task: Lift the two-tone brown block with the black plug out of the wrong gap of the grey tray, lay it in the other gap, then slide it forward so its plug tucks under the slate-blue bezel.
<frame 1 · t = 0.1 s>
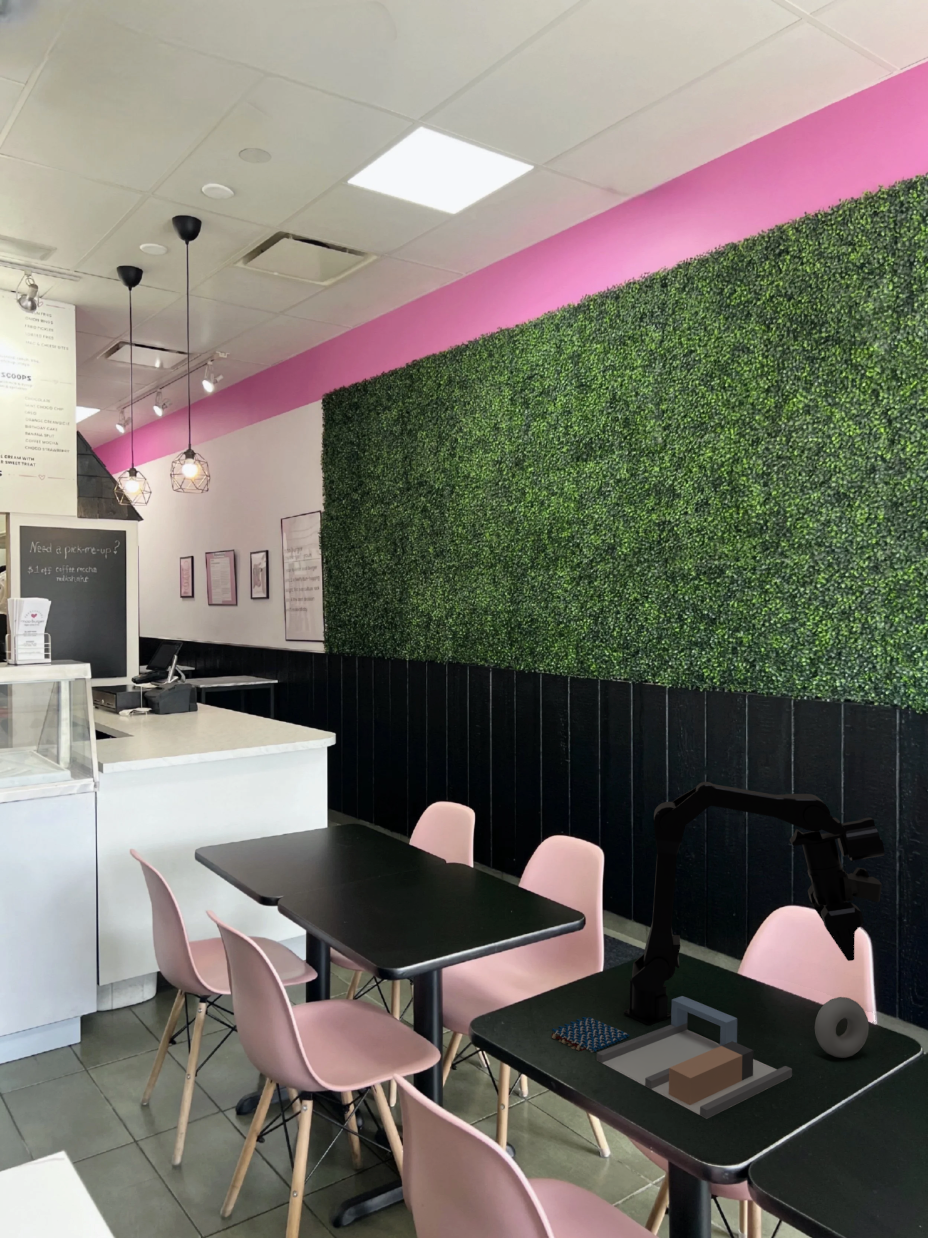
hand: (845, 951, 160), 15 cm above the table, tool pointing down, fingers open, 9 cm apart
grey tray: (692, 1073, 146), on the table
two-tone brown block: (711, 1084, 140), point 1 cm above the table, touching grey tray
donut: (841, 1058, 153), on the table
woven mat: (591, 1044, 157), on the table
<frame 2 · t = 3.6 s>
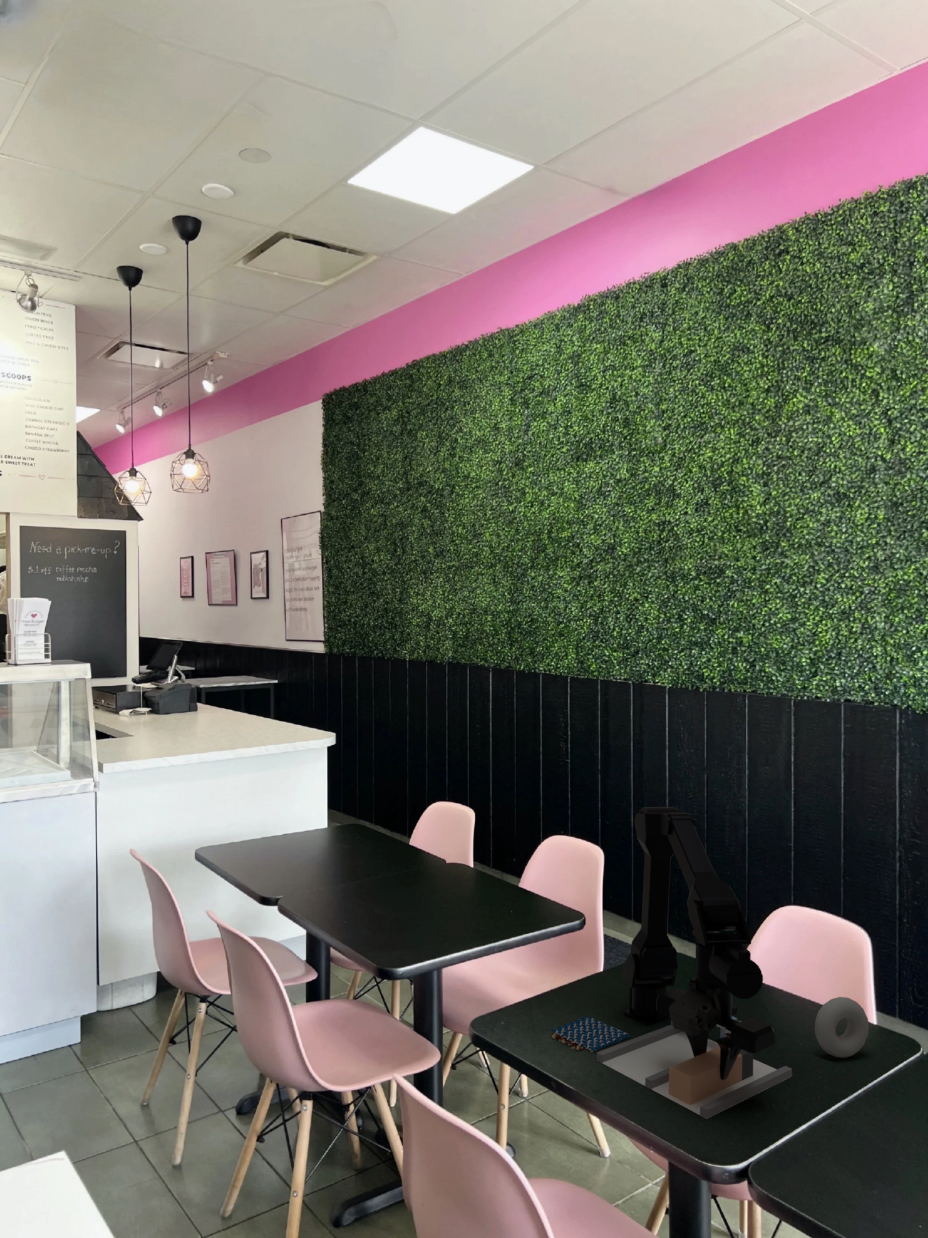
hand: (712, 1073, 140), 3 cm above the table, tool pointing down, fingers closed on two-tone brown block, 4 cm apart
two-tone brown block: (711, 1084, 140), point 1 cm above the table, touching grey tray, gripper
everything else where it was.
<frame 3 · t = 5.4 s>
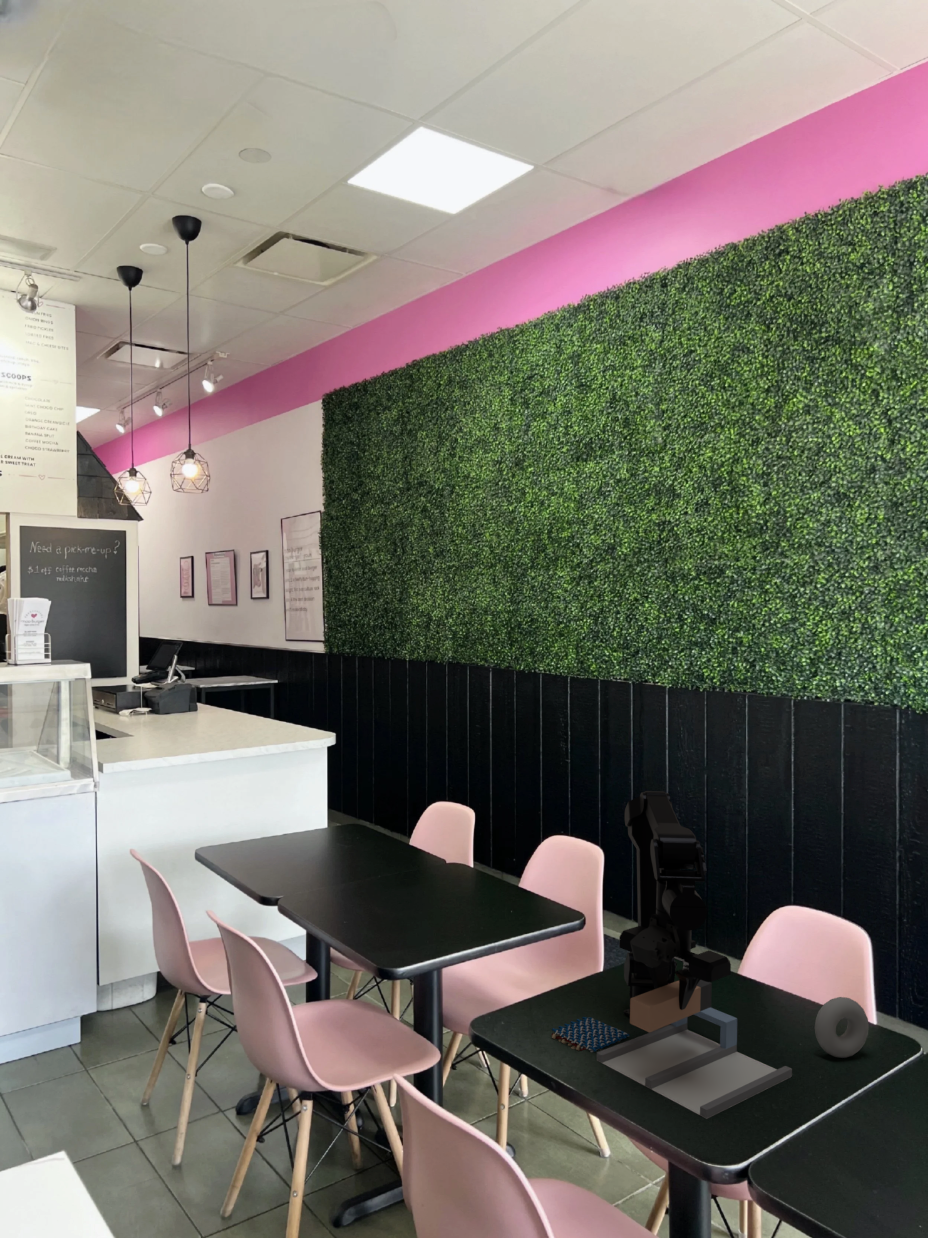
hand: (671, 1004, 147), 11 cm above the table, tool pointing down, fingers closed on two-tone brown block, 4 cm apart
two-tone brown block: (671, 1015, 147), point 9 cm above the table, touching gripper
everything else where it was.
when the fingers open (3 cm above the table, at t = 7.3 s): two-tone brown block stays where it is, resting on grey tray.
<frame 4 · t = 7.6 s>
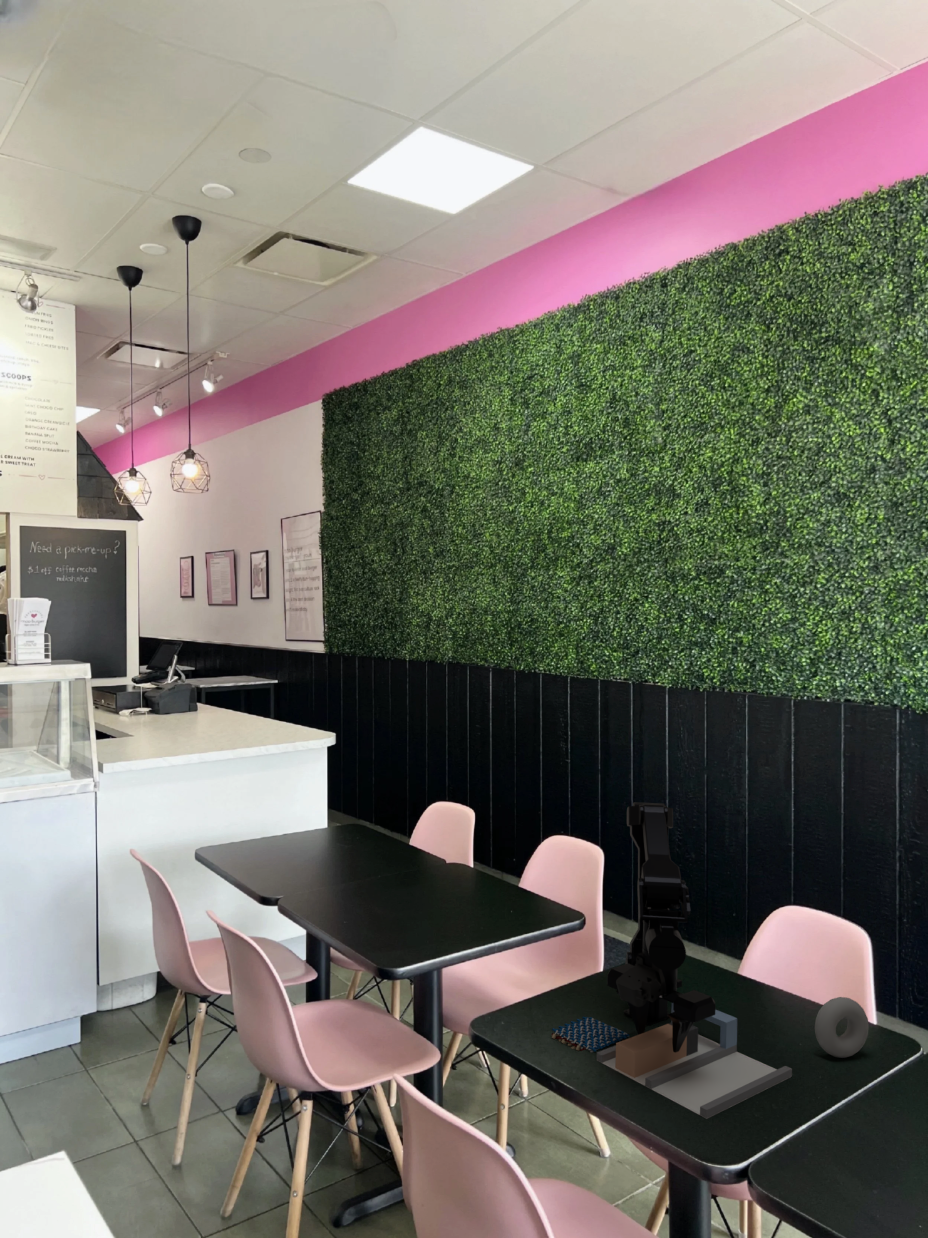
hand: (658, 1043, 148), 3 cm above the table, tool pointing down, fingers open, 7 cm apart
two-tone brown block: (657, 1059, 148), point 1 cm above the table, touching grey tray
everything else where it was.
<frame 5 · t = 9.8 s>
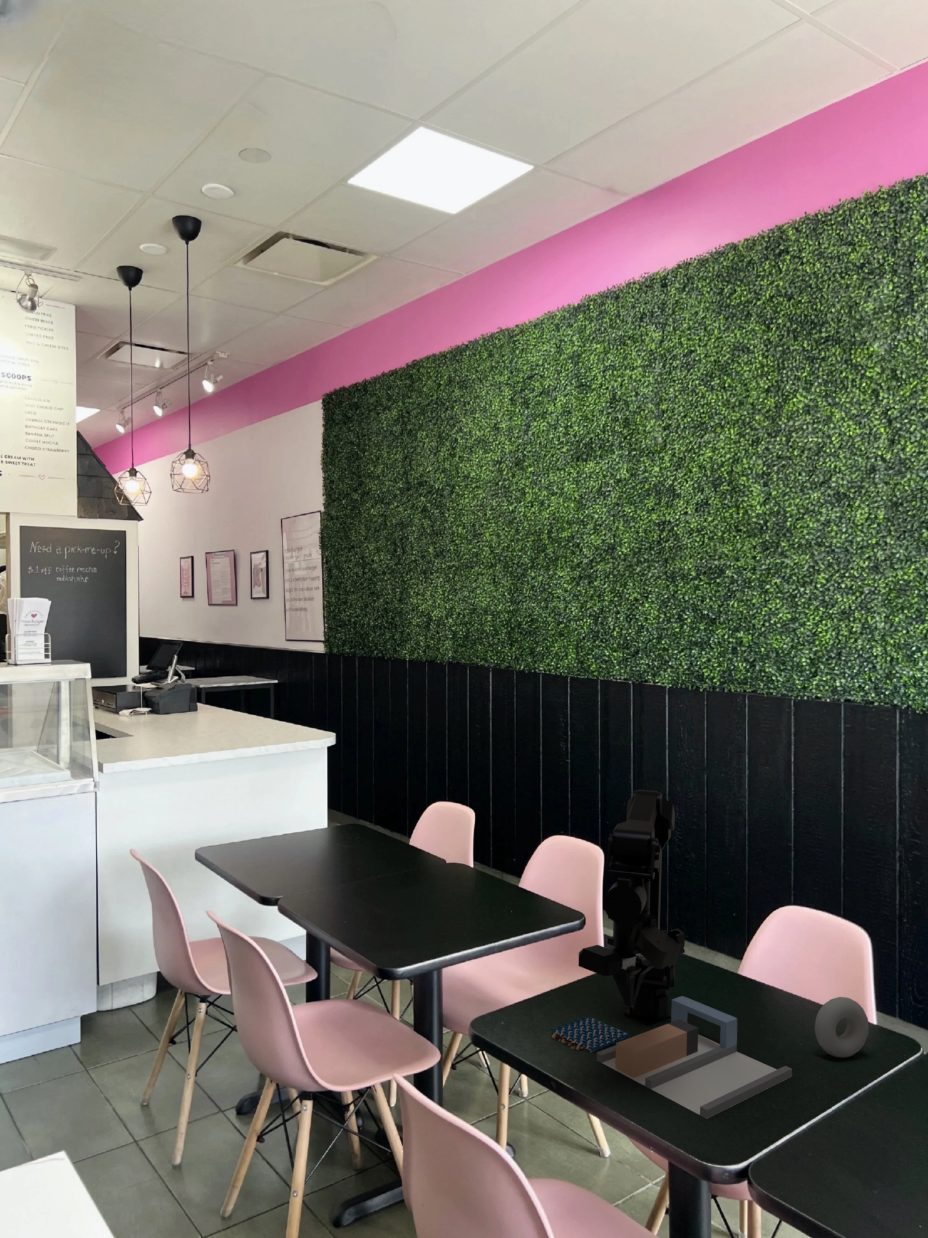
hand: (629, 1006, 143), 12 cm above the table, tool pointing down, fingers closed
nothing on the table moved.
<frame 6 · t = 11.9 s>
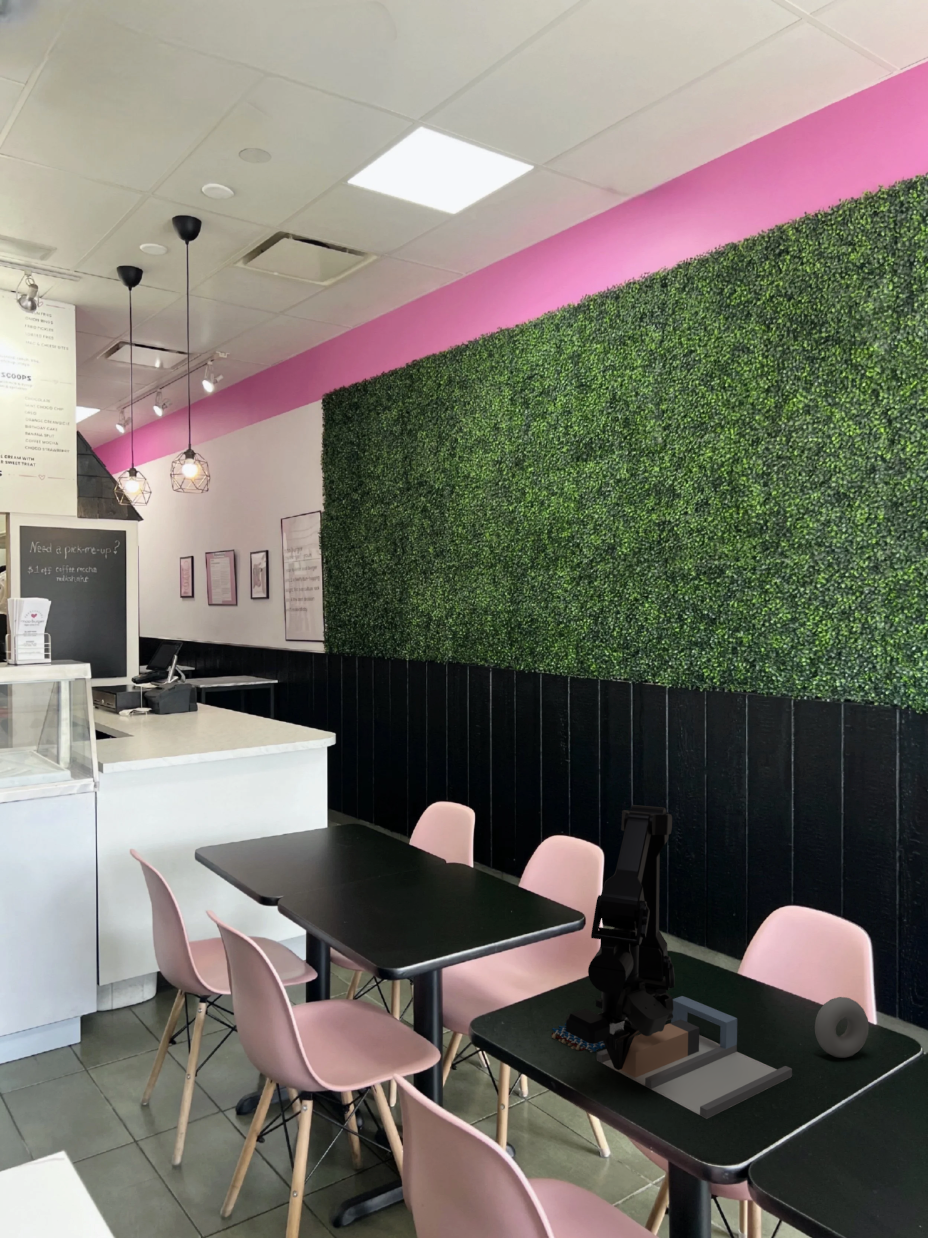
hand: (618, 1068, 142), 2 cm above the table, tool pointing down, fingers closed
two-tone brown block: (658, 1059, 148), point 1 cm above the table, touching gripper
everything else where it was.
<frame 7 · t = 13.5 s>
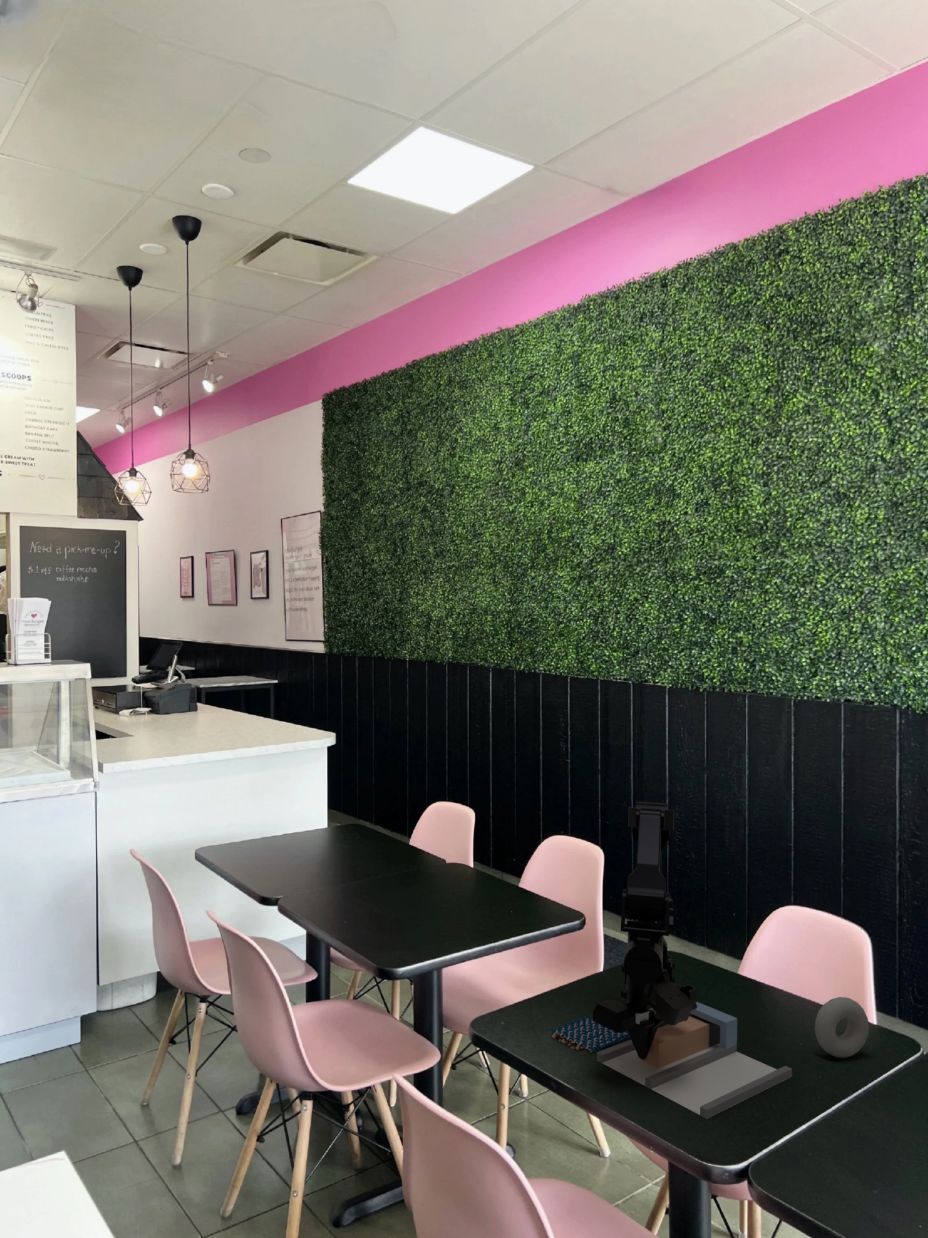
hand: (642, 1058, 146), 2 cm above the table, tool pointing down, fingers closed
two-tone brown block: (680, 1051, 152), point 1 cm above the table, touching grey tray, gripper
everything else where it was.
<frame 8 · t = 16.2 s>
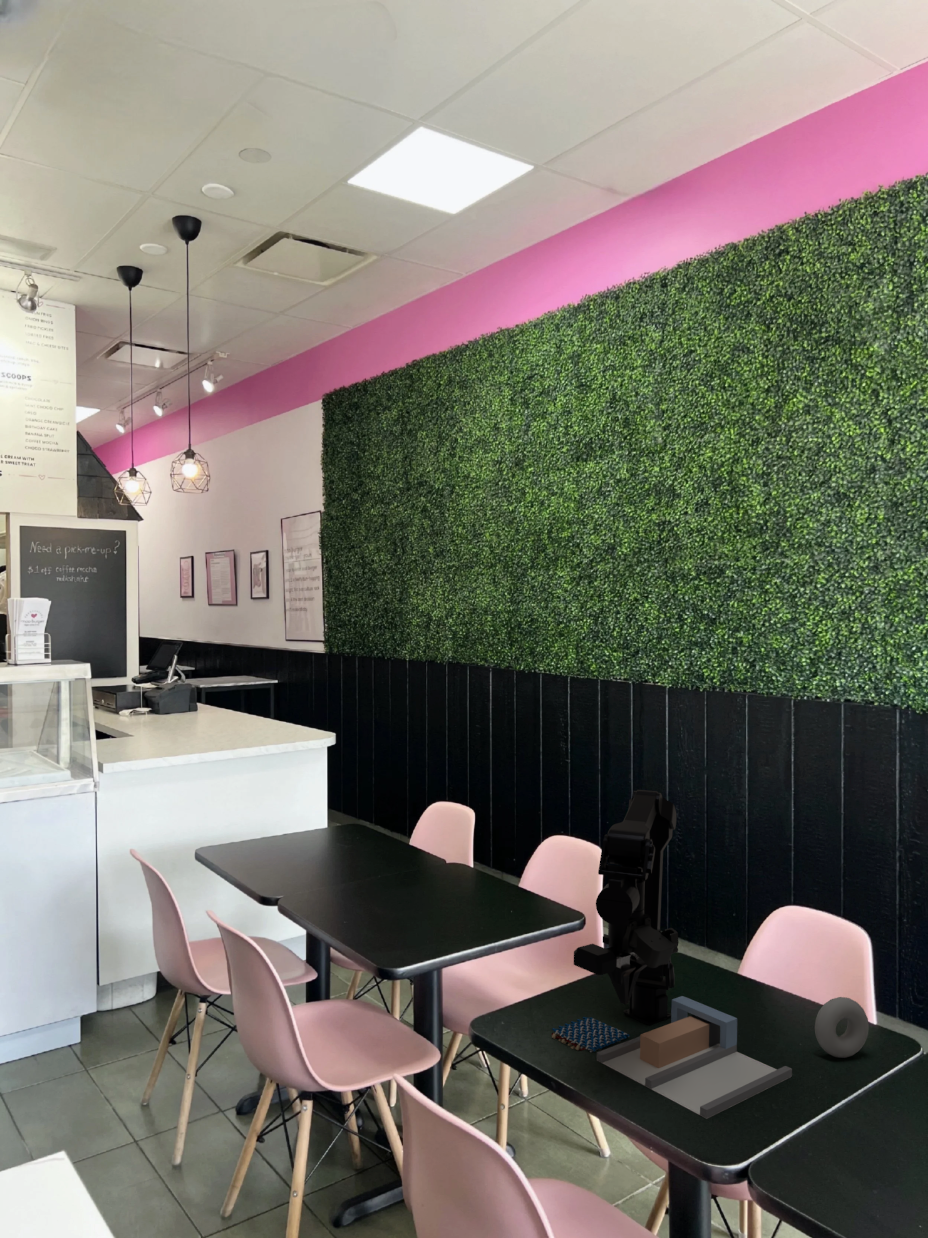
hand: (624, 1003, 146), 11 cm above the table, tool pointing down, fingers closed
two-tone brown block: (680, 1051, 152), point 1 cm above the table, touching grey tray
everything else where it was.
at the end: two-tone brown block 0.8 cm from the target spot, point 0.8 cm above the table; two-tone brown block tilted 0°; the gripper is holding nothing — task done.
